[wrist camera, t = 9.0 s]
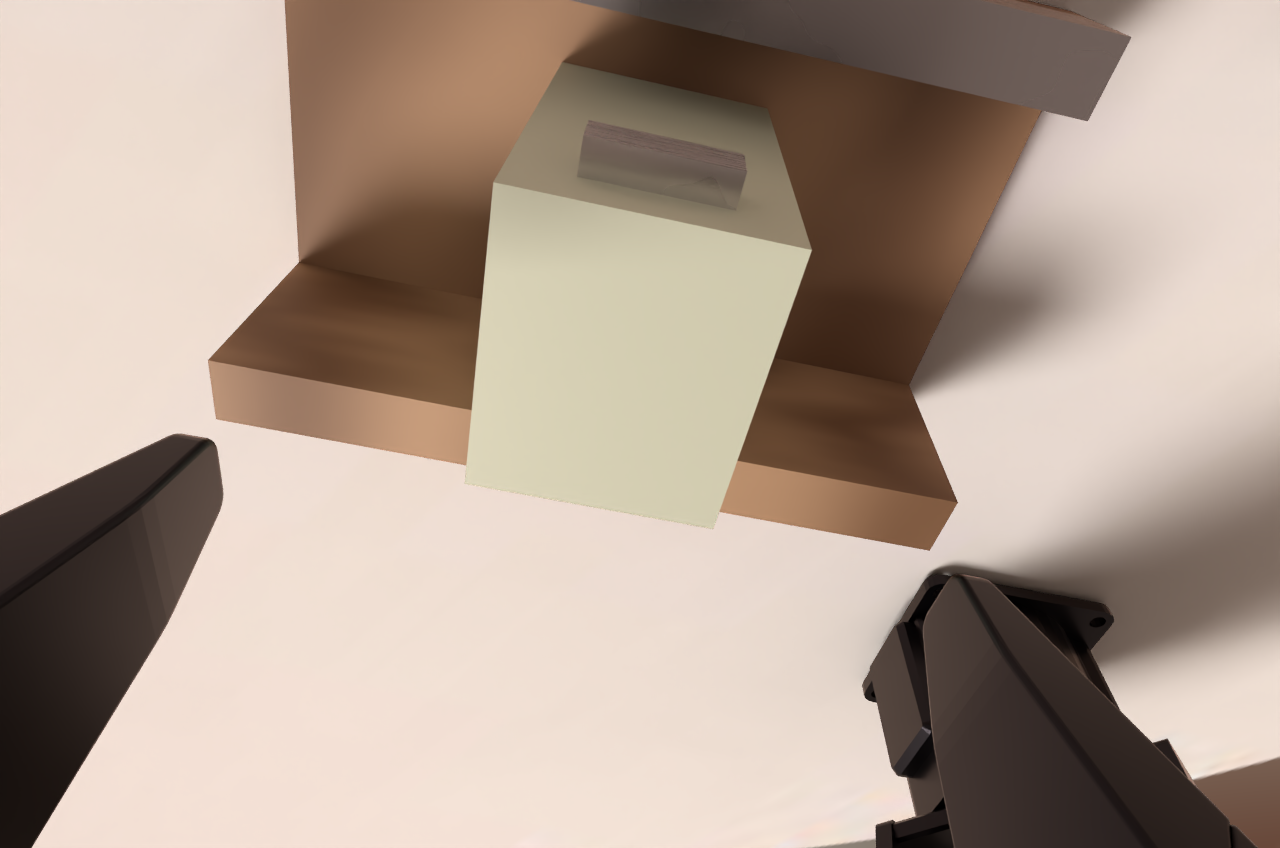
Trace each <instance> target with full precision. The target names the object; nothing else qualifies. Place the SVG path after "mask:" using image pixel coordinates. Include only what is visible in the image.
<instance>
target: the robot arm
mask: <svg viewBox="0 0 1280 848" xmlns="http://www.w3.org/2000/svg"><path fill="white" fill-rule="evenodd" d="M222 501H223V485H222V478H221V472H220V465H219V458H218V451H217V447H216V445H215V443H214V442H213V441H212V440H210V439H208V438H203V437H198V436H192V435H186V434H173V435H170V436H168V437H165V438H163V439H161V440H159V441H157V442H155V443H153V444H151V445H148V446H146V447H144V448H142V449H140V450H138V451H136V452H134V453H131V454H129V455H127V456H125V457H123V458H121V459H119V460H116V461H114V462H112V463H110V464H108V465H106V466H104V467H102V468H99V469H97V470H95V471H93V472H91V473H89V474H87V475H84V476H82V477H80V478H78V479H76V480H74V481H72V482H70V483H67V484H65V485H63V486H61V487H59V488H57V489H55V490H53V491H50V492H48V493H46V494H44V495H42V496H40V497H38V498H35V499H33V500H31V501H29V502H27V503H25V504H23V505H21V506H18V507H16V508H14V509H12V510H10V511H8V512H6V513H4V514H1V515H0V848H32V846H33V844H34V843H35V841H36V840H37V838H38V836H39V835H40V833H41V831H42V830H43V828H44V826H45V825H46V823H47V822H48V820H49V818H50V817H51V815H52V813H53V812H54V810H55V808H56V807H57V805H58V803H59V802H60V800H61V799H62V797H63V795H64V794H65V792H66V790H67V789H68V787H69V785H70V784H71V782H72V781H73V779H74V777H75V776H76V774H77V772H78V771H79V769H80V767H81V766H82V764H83V762H84V761H85V759H86V758H87V756H88V754H89V753H90V751H91V749H92V748H93V746H94V744H95V743H96V741H97V740H98V738H99V736H100V735H101V733H102V731H103V730H104V728H105V726H106V725H107V723H108V721H109V720H110V718H111V717H112V715H113V713H114V712H115V710H116V708H117V707H118V705H119V703H120V702H121V700H122V699H123V697H124V695H125V694H126V692H127V690H128V689H129V687H130V685H131V684H132V682H133V680H134V679H135V677H136V676H137V674H138V672H139V671H140V669H141V667H142V666H143V664H144V662H145V661H146V659H147V658H148V656H149V654H150V653H151V651H152V649H153V648H154V646H155V644H156V643H157V641H158V639H159V638H160V636H161V634H162V632H163V631H164V629H165V627H166V625H167V624H168V622H169V620H170V618H171V616H172V614H173V612H174V610H175V608H176V605H177V603H178V601H179V599H180V597H181V595H182V592H183V590H184V588H185V586H186V584H187V582H188V579H189V577H190V575H191V573H192V571H193V569H194V566H195V564H196V562H197V560H198V558H199V555H200V553H201V551H202V549H203V547H204V545H205V542H206V540H207V538H208V536H209V534H210V532H211V529H212V527H213V525H214V523H215V521H216V518H217V516H218V514H219V512H220V509H221V506H222ZM938 589H941V590H938ZM1113 622H1114V617H1113V616H1112V614H1111V612H1110V610H1109V608H1108V607H1107V606H1106V605H1104V604H1101V603H1096V602H1091V601H1085V600H1080V599H1074V598H1069V597H1063V596H1058V595H1052V594H1047V593H1041V592H1036V591H1030V590H1025V589H1019V588H1014V587H1008V586H1003V585H997V584H992V583H991V582H990V581H989V580H987V579H984V578H980V577H975V576H969V575H964V574H955V575H953V576H948V575H934V576H931V577H929V578H927V579H926V580H925V581H924V582H923V584H922V585H921V587H920V589H919V590H918V592H917V594H916V595H915V597H914V599H913V600H912V602H911V604H910V605H909V607H908V609H907V610H906V612H905V614H904V615H903V617H902V619H901V620H900V622H899V623H898V624H896V625H895V626H894V628H893V629H892V631H891V633H890V634H889V636H888V638H887V639H886V641H885V643H884V644H883V646H882V648H881V650H880V651H879V653H878V655H877V656H876V658H875V660H874V661H873V663H872V665H871V666H870V672H869V673H868V675H867V677H866V678H865V680H864V682H863V685H862V687H863V692H864V696H865V698H866V699H867V700H869V701H872V702H877V705H878V710H879V714H880V719H881V723H882V727H883V732H884V736H885V741H886V745H887V750H888V754H889V759H890V763H891V767H892V769H893V770H894V772H895V773H896V775H898V776H901V777H907V781H908V785H909V789H910V793H911V798H912V802H913V806H914V810H915V814H916V817H912V818H909V819H905V820H902V821H899V822H895V821H893V820H890V821H887V822H884V823H880V824H877V825H876V848H1258V847H1257V846H1256V845H1254V843H1253V842H1252V841H1251V840H1250V839H1248V838H1247V837H1246V836H1245V834H1244V833H1243V832H1242V831H1241V830H1240V829H1239V828H1238V827H1236V826H1234V825H1230V822H1229V819H1228V818H1227V817H1226V816H1225V815H1224V814H1223V813H1222V812H1221V811H1220V810H1219V809H1218V808H1217V807H1216V806H1215V805H1214V804H1213V803H1212V802H1211V801H1210V800H1209V799H1208V798H1207V797H1206V796H1205V795H1204V794H1203V793H1202V792H1201V791H1200V790H1199V789H1198V788H1197V786H1196V785H1195V783H1194V781H1193V780H1192V778H1191V777H1190V775H1189V773H1188V772H1187V770H1186V768H1185V767H1184V765H1183V763H1182V762H1181V760H1180V758H1179V757H1178V755H1177V753H1176V752H1175V750H1174V749H1173V747H1172V745H1171V744H1170V742H1169V740H1168V739H1164V740H1161V741H1157V742H1154V743H1152V742H1151V741H1150V740H1149V739H1148V738H1147V737H1146V736H1145V735H1144V734H1143V733H1142V732H1141V731H1140V730H1139V729H1138V728H1137V727H1136V726H1135V725H1134V724H1133V723H1132V722H1131V721H1130V720H1129V719H1128V718H1127V717H1126V716H1125V715H1124V714H1123V713H1122V712H1121V711H1120V709H1119V707H1118V705H1117V703H1116V701H1115V699H1114V697H1113V695H1112V693H1111V691H1110V689H1109V687H1108V685H1107V683H1106V681H1105V679H1104V677H1103V675H1102V673H1101V671H1100V669H1099V667H1098V665H1097V663H1096V661H1095V659H1094V657H1093V655H1092V653H1091V651H1090V650H1091V649H1092V648H1093V647H1094V645H1095V644H1096V643H1097V642H1098V641H1099V640H1100V638H1101V637H1102V636H1103V635H1104V634H1105V632H1106V631H1107V630H1108V629H1109V628H1110V626H1111V625H1112V624H1113Z"/></svg>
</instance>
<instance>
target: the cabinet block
mask: <svg viewBox="0 0 1280 848" xmlns="http://www.w3.org/2000/svg"><path fill="white" fill-rule="evenodd" d="M811 251H812V249H811V246H810V242H809V239H808V236H807V233H806V230H805V227H804V223H803V220H802V217H801V214H800V211H799V207H798V204H797V201H796V198H795V195H794V192H793V188H792V185H791V182H790V179H789V176H788V172H787V169H786V166H785V163H784V160H783V157H782V153H781V150H780V147H779V144H778V141H777V137H776V134H775V131H774V128H773V125H772V122H771V118H770V115H769V112H768V109H767V108H763V107H759V106H754V105H750V104H745V103H741V102H737V101H732V100H728V99H723V98H719V97H715V96H710V95H706V94H701V93H697V92H693V91H688V90H684V89H679V88H675V87H671V86H666V85H662V84H657V83H653V82H648V81H644V80H640V79H635V78H631V77H626V76H622V75H618V74H613V73H609V72H604V71H600V70H596V69H591V68H587V67H582V66H578V65H574V64H569V63H565V62H562V63H561V65H560V67H559V69H558V70H557V72H556V74H555V76H554V77H553V79H552V81H551V82H550V84H549V86H548V88H547V89H546V91H545V93H544V95H543V96H542V98H541V100H540V102H539V103H538V105H537V107H536V109H535V110H534V112H533V114H532V116H531V117H530V119H529V121H528V123H527V124H526V126H525V128H524V130H523V131H522V133H521V135H520V137H519V138H518V140H517V142H516V144H515V145H514V147H513V149H512V151H511V152H510V154H509V156H508V158H507V159H506V161H505V163H504V165H503V166H502V168H501V170H500V172H499V173H498V175H497V177H496V178H495V180H494V182H493V191H492V202H491V213H490V223H489V234H488V244H487V255H486V265H485V276H484V286H483V297H482V307H481V318H480V328H479V339H478V349H477V360H476V370H475V381H474V391H473V402H472V412H471V423H470V433H469V444H468V454H467V465H466V475H465V484H468V485H474V486H479V487H485V488H490V489H496V490H501V491H507V492H512V493H518V494H523V495H529V496H534V497H539V498H545V499H550V500H556V501H561V502H567V503H572V504H578V505H583V506H589V507H594V508H600V509H605V510H611V511H616V512H622V513H627V514H633V515H638V516H644V517H649V518H655V519H660V520H666V521H671V522H677V523H682V524H688V525H693V526H699V527H704V528H710V529H713V528H714V525H715V523H716V520H717V517H718V514H719V511H720V508H721V506H722V503H723V500H724V497H725V494H726V491H727V489H728V486H729V483H730V480H731V477H732V475H733V472H734V469H735V466H736V463H737V460H738V458H739V455H740V452H741V449H742V446H743V443H744V441H745V438H746V435H747V432H748V429H749V426H750V424H751V421H752V418H753V415H754V412H755V410H756V407H757V404H758V401H759V398H760V395H761V393H762V390H763V387H764V384H765V381H766V378H767V376H768V373H769V370H770V367H771V364H772V361H773V359H774V356H775V353H776V350H777V347H778V344H779V342H780V339H781V336H782V333H783V330H784V328H785V325H786V322H787V319H788V316H789V313H790V311H791V308H792V305H793V302H794V299H795V296H796V294H797V291H798V288H799V285H800V282H801V279H802V277H803V274H804V271H805V268H806V265H807V263H808V260H809V257H810V254H811Z"/></svg>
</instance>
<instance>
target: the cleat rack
mask: <svg viewBox="0 0 1280 848" xmlns="http://www.w3.org/2000/svg"><path fill="white" fill-rule="evenodd" d="M285 14H286V32H287V50H288V69H289V87H290V105H291V123H292V142H293V160H294V178H295V196H296V215H297V233H298V251H299V263H298V264H297V265H296V266H295V267H294V268H293V270H292V271H291V272H290V273H289V274H288V275H287V276H286V277H285V278H284V279H283V280H282V281H281V282H280V283H279V285H278V286H277V287H276V288H275V289H274V290H273V291H272V292H271V293H270V294H269V295H268V296H267V297H266V299H265V300H264V301H263V302H262V303H261V304H260V305H259V306H258V307H257V308H256V309H255V310H254V311H253V313H252V314H251V315H250V316H249V317H248V318H247V319H246V320H245V321H244V322H243V323H242V324H241V325H240V326H239V328H238V329H237V330H236V331H235V332H234V333H233V334H232V335H231V336H230V337H229V338H228V339H227V340H226V342H225V343H224V344H223V345H222V346H221V347H220V348H219V349H218V350H217V351H216V352H215V353H214V354H213V356H212V357H211V358H210V359H209V360H208V364H209V371H210V378H211V385H212V393H213V400H214V407H215V414H216V419H218V420H223V421H229V422H234V423H240V424H245V425H251V426H256V427H261V428H267V429H272V430H278V431H283V432H289V433H294V434H299V435H305V436H310V437H316V438H321V439H327V440H332V441H338V442H343V443H348V444H354V445H359V446H365V447H370V448H376V449H381V450H386V451H392V452H397V453H403V454H408V455H414V456H419V457H424V458H430V459H435V460H441V461H446V462H452V463H457V464H462V465H467V454H468V444H469V433H470V423H471V412H472V402H473V391H474V381H475V370H476V360H477V349H478V339H479V328H480V318H481V307H482V297H483V286H484V276H485V265H486V255H487V244H488V234H489V223H490V213H491V202H492V191H493V182H494V180H495V178H496V177H497V175H498V173H499V172H500V170H501V168H502V166H503V165H504V163H505V161H506V159H507V158H508V156H509V154H510V152H511V151H512V149H513V147H514V145H515V144H516V142H517V140H518V138H519V137H520V135H521V133H522V131H523V130H524V128H525V126H526V124H527V123H528V121H529V119H530V117H531V116H532V114H533V112H534V110H535V109H536V107H537V105H538V103H539V102H540V100H541V98H542V96H543V95H544V93H545V91H546V89H547V88H548V86H549V84H550V82H551V81H552V79H553V77H554V76H555V74H556V72H557V70H558V69H559V67H560V65H561V63H562V62H565V63H569V64H574V65H578V66H582V67H587V68H591V69H596V70H600V71H604V72H609V73H613V74H618V75H622V76H626V77H631V78H635V79H640V80H644V81H648V82H653V83H657V84H662V85H666V86H671V87H675V88H679V89H684V90H688V91H693V92H697V93H701V94H706V95H710V96H715V97H719V98H723V99H728V100H732V101H737V102H741V103H745V104H750V105H754V106H759V107H763V108H767V109H768V112H769V115H770V118H771V122H772V125H773V128H774V131H775V134H776V137H777V141H778V144H779V147H780V150H781V153H782V157H783V160H784V163H785V166H786V169H787V172H788V176H789V179H790V182H791V185H792V188H793V192H794V195H795V198H796V201H797V204H798V207H799V211H800V214H801V217H802V220H803V223H804V227H805V230H806V233H807V236H808V239H809V242H810V246H811V249H812V251H811V254H810V257H809V260H808V263H807V265H806V268H805V271H804V274H803V277H802V279H801V282H800V285H799V288H798V291H797V294H796V296H795V299H794V302H793V305H792V308H791V311H790V313H789V316H788V319H787V322H786V325H785V328H784V330H783V333H782V336H781V339H780V342H779V344H778V347H777V350H776V353H775V356H774V359H773V361H772V364H771V367H770V370H769V373H768V376H767V378H766V381H765V384H764V387H763V390H762V393H761V395H760V398H759V401H758V404H757V407H756V410H755V412H754V415H753V418H752V421H751V424H750V426H749V429H748V432H747V435H746V438H745V441H744V443H743V446H742V449H741V452H740V455H739V458H738V460H737V463H736V466H735V469H734V472H733V475H732V477H731V480H730V483H729V486H728V489H727V491H726V494H725V497H724V500H723V503H722V506H721V508H720V511H719V512H723V513H729V514H734V515H739V516H745V517H750V518H756V519H761V520H767V521H772V522H777V523H783V524H788V525H794V526H799V527H805V528H810V529H815V530H821V531H826V532H832V533H837V534H843V535H848V536H853V537H859V538H864V539H870V540H875V541H881V542H886V543H891V544H897V545H902V546H908V547H913V548H919V549H924V550H929V551H930V549H931V547H932V546H933V544H934V542H935V540H936V539H937V537H938V535H939V534H940V532H941V530H942V529H943V527H944V525H945V523H946V522H947V520H948V518H949V517H950V515H951V513H952V512H953V510H954V508H955V506H956V505H957V503H958V502H957V500H956V497H955V495H954V492H953V490H952V488H951V485H950V483H949V480H948V478H947V475H946V473H945V471H944V468H943V466H942V463H941V461H940V459H939V456H938V454H937V451H936V449H935V447H934V444H933V442H932V439H931V437H930V435H929V432H928V430H927V427H926V425H925V423H924V420H923V418H922V415H921V413H920V411H919V408H918V406H917V403H916V401H915V399H914V396H913V394H912V391H911V389H910V387H909V384H910V382H911V380H912V378H913V376H914V373H915V371H916V369H917V367H918V365H919V363H920V361H921V359H922V357H923V355H924V353H925V351H926V349H927V347H928V344H929V342H930V340H931V338H932V336H933V334H934V332H935V330H936V328H937V326H938V324H939V322H940V320H941V318H942V315H943V313H944V311H945V309H946V307H947V305H948V303H949V301H950V299H951V297H952V295H953V293H954V291H955V289H956V286H957V284H958V282H959V280H960V278H961V276H962V274H963V272H964V270H965V268H966V266H967V264H968V262H969V260H970V257H971V255H972V253H973V251H974V249H975V247H976V245H977V243H978V241H979V239H980V237H981V235H982V233H983V231H984V229H985V226H986V224H987V222H988V220H989V218H990V216H991V214H992V212H993V210H994V208H995V206H996V204H997V202H998V200H999V197H1000V195H1001V193H1002V191H1003V189H1004V187H1005V185H1006V183H1007V181H1008V179H1009V177H1010V175H1011V173H1012V171H1013V168H1014V166H1015V164H1016V162H1017V160H1018V158H1019V156H1020V154H1021V152H1022V150H1023V148H1024V146H1025V144H1026V142H1027V139H1028V137H1029V135H1030V133H1031V131H1032V129H1033V127H1034V125H1035V123H1036V121H1037V119H1038V117H1039V115H1040V113H1041V110H1042V111H1046V112H1051V113H1055V114H1059V115H1064V116H1068V117H1072V118H1076V119H1081V120H1085V121H1088V120H1089V118H1090V116H1091V114H1092V112H1093V110H1094V108H1095V106H1096V104H1097V102H1098V100H1099V98H1100V97H1101V95H1102V93H1103V91H1104V89H1105V87H1106V85H1107V83H1108V81H1109V79H1110V77H1111V75H1112V73H1113V72H1114V70H1115V68H1116V66H1117V64H1118V62H1119V60H1120V58H1121V56H1122V54H1123V52H1124V50H1125V48H1126V47H1127V45H1128V43H1129V41H1130V39H1131V37H1130V36H1128V35H1126V34H1123V33H1121V32H1119V31H1116V30H1114V29H1112V28H1109V27H1107V26H1104V25H1102V24H1100V23H1097V22H1095V21H1093V20H1090V19H1088V18H1086V17H1083V16H1081V15H1079V14H1076V13H1074V12H1072V11H1068V10H1064V9H1060V8H1056V7H1052V6H1048V5H1044V4H1040V3H1035V2H1031V1H1027V0H285Z"/></svg>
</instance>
